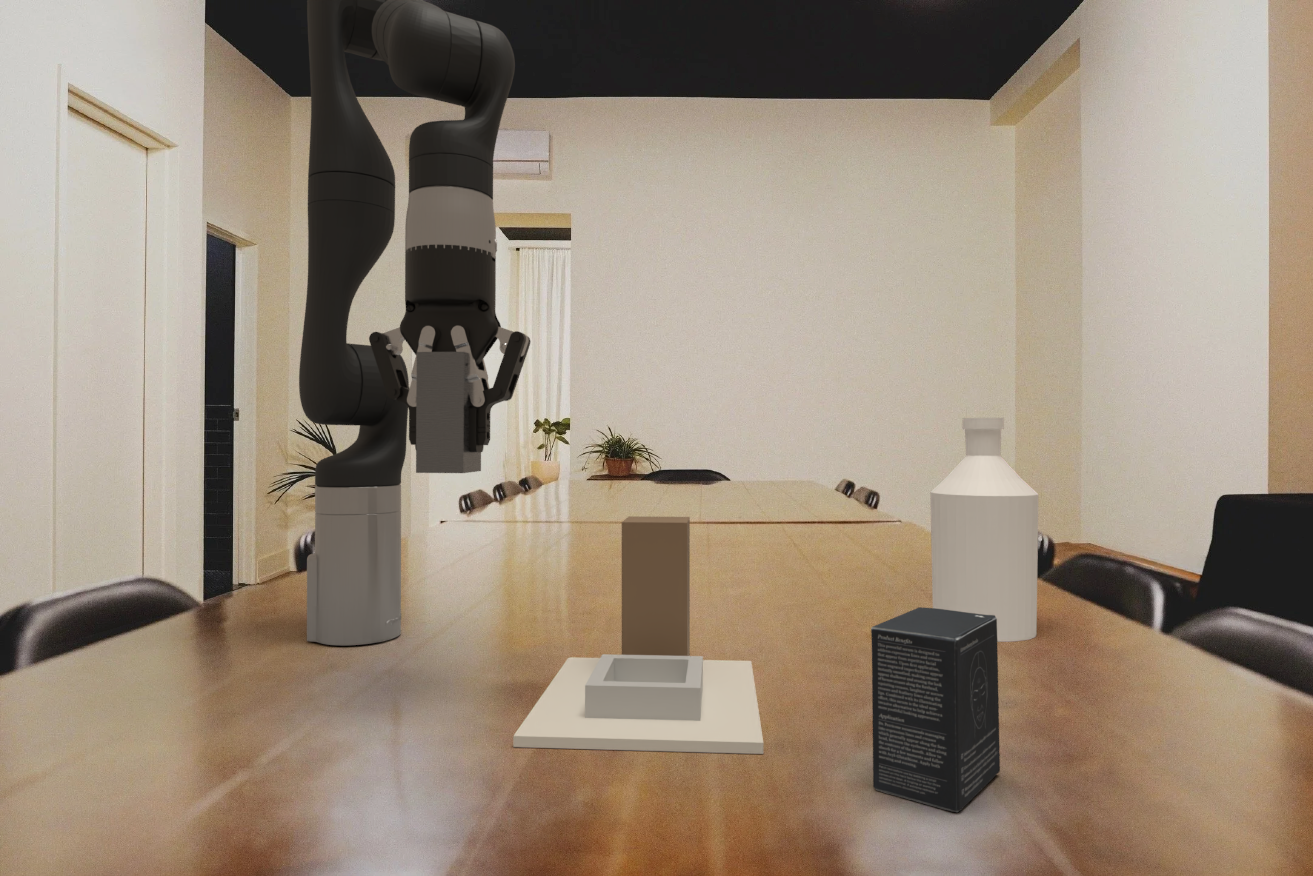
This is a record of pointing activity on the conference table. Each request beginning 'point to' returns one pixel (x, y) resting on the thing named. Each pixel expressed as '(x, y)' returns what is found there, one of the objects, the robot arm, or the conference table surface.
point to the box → (935, 706)
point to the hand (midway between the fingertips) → (450, 450)
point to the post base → (650, 668)
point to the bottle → (986, 536)
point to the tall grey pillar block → (443, 414)
